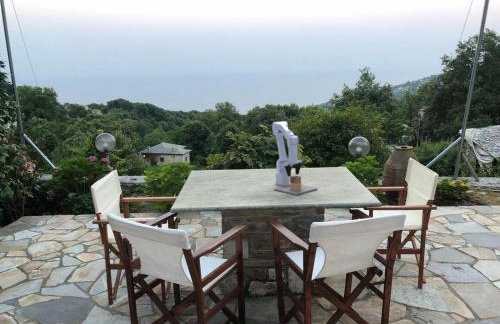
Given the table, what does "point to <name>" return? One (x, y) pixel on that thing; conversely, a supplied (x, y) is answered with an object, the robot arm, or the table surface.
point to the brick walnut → (295, 179)
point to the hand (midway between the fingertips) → (293, 175)
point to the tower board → (295, 192)
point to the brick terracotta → (295, 186)
